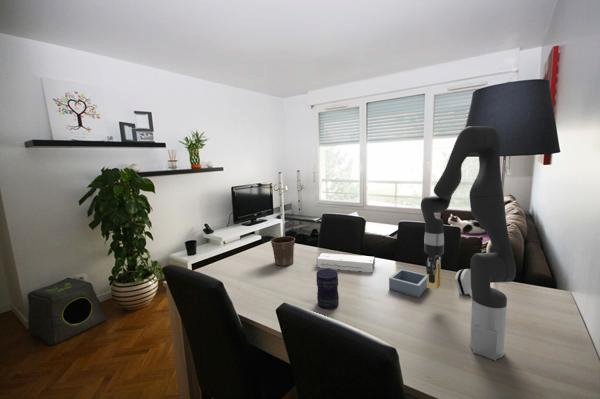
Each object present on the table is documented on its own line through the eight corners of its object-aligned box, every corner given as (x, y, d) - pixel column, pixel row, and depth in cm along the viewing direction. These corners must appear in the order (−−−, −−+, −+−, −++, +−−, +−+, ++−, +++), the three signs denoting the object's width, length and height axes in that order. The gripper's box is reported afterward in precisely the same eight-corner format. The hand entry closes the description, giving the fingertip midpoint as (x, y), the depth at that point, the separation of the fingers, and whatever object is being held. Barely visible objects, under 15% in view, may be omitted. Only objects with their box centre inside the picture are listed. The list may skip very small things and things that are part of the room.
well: (418, 298, 123) (419, 285, 122) (389, 289, 133) (389, 278, 132) (428, 286, 134) (429, 275, 133) (400, 279, 143) (400, 268, 143)
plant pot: (269, 260, 181) (268, 238, 179) (292, 257, 186) (291, 234, 184) (274, 269, 166) (273, 244, 164) (299, 265, 171) (298, 241, 168)
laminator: (317, 268, 166) (316, 258, 165) (322, 261, 177) (322, 252, 176) (373, 273, 154) (373, 263, 153) (375, 265, 165) (374, 256, 164)
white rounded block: (471, 297, 121) (463, 276, 123) (460, 297, 125) (452, 276, 126) (479, 284, 133) (472, 265, 134) (469, 285, 137) (462, 266, 138)
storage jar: (314, 301, 125) (312, 271, 123) (332, 296, 128) (331, 267, 126) (323, 312, 116) (321, 279, 114) (343, 306, 119) (342, 275, 117)
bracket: (436, 290, 113) (437, 266, 111) (426, 287, 115) (427, 264, 114) (440, 286, 116) (440, 263, 115) (430, 283, 119) (430, 261, 118)
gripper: (438, 248, 106) (438, 288, 108) (448, 239, 116) (447, 277, 118) (419, 245, 111) (419, 284, 113) (429, 237, 121) (429, 273, 123)
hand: (433, 280), depth 115 cm, fingers closed on bracket, 5 cm apart
